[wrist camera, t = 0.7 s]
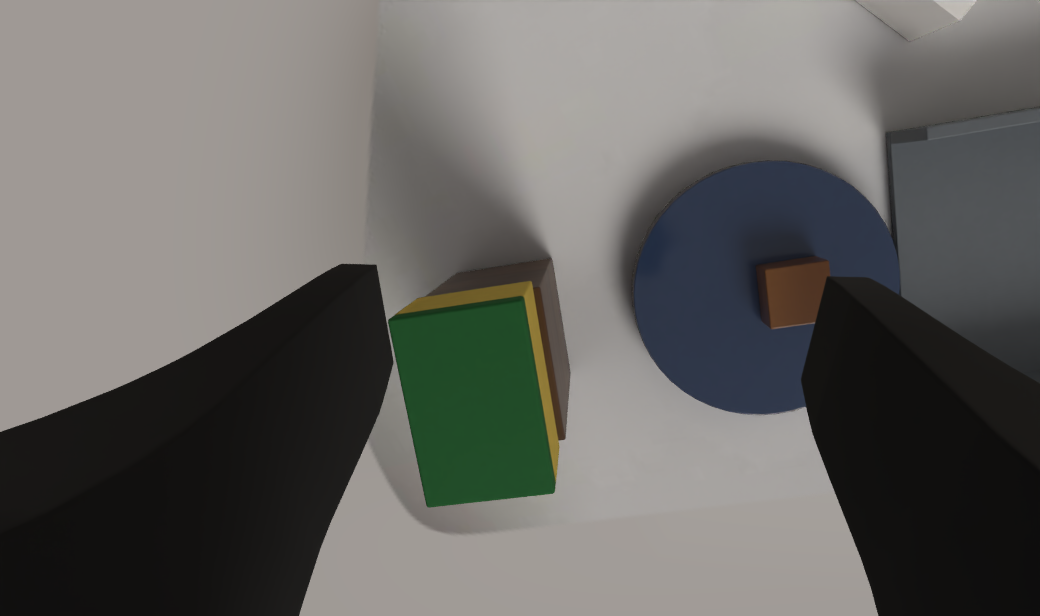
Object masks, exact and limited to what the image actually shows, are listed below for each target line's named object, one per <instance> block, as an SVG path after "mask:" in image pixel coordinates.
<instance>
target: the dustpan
mask: <svg viewBox="0 0 1040 616" xmlns="http://www.w3.org/2000/svg"><path fill="white" fill-rule="evenodd" d="M886 138H887V153H888V168H889V182H890V197H891V212H892V227H893V241H894V246H895V249H896V253H897V256H898V264H899V271H900V292H899V295H900V296H901V297H903V298H905V299H906V300H908V301H909V302H911V303H912V304H914V305H915V306H917V307H918V308H920V309H921V310H923V311H924V312H926V313H928V314H929V315H931V316H932V317H934V318H935V319H937V320H938V321H940V322H941V323H943V324H944V325H946V326H947V327H949V328H950V329H952V330H953V331H955V332H957V333H958V334H960V335H961V336H963V337H964V338H966V339H967V340H969V341H970V342H972V343H974V344H975V345H977V346H978V347H980V348H982V349H983V350H985V351H986V352H988V353H990V354H991V355H993V356H994V357H996V358H998V359H999V360H1001V361H1003V362H1004V363H1006V364H1007V365H1009V366H1011V367H1012V368H1014V369H1016V370H1018V371H1019V372H1021V373H1023V374H1025V375H1026V376H1028V377H1030V378H1032V379H1033V380H1035V381H1037V382H1038V383H1040V107H1034V108H1028V109H1022V110H1017V111H1011V112H1005V113H999V114H993V115H987V116H981V117H975V118H970V119H964V120H958V121H952V122H946V123H940V124H934V125H929V126H923V127H917V128H911V129H905V130H899V131H893V132H887V133H886Z"/></svg>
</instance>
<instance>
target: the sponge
mask: <svg viewBox="0 0 1040 616" xmlns="http://www.w3.org/2000/svg"><path fill="white" fill-rule="evenodd" d="M388 324H389V328H390V333H391V338H392V343H393V347H394V352H395V357H396V362H397V367H398V371H399V376H400V381H401V386H402V391H403V395H404V400H405V405H406V410H407V415H408V419H409V424H410V429H411V434H412V438H413V443H414V448H415V453H416V458H417V462H418V467H419V472H420V477H421V482H422V486H423V491H424V496H425V501H426V505H427V507H437V506H446V505H455V504H464V503H473V502H482V501H491V500H500V499H509V498H518V497H527V496H536V495H545V494H553V493H554V492H555V484H556V476H557V466H558V455H559V442H558V436H557V430H556V424H555V418H554V412H553V406H552V400H551V394H550V388H549V382H548V376H547V370H546V364H545V358H544V352H543V346H542V340H541V334H540V328H539V322H538V316H537V310H536V304H535V298H534V292H533V286H532V282H531V281H526V282H519V283H513V284H506V285H500V286H493V287H487V288H480V289H474V290H467V291H461V292H454V293H448V294H441V295H435V296H428V297H422V298H417V299H416V300H415V301H413V302H412V303H410V304H409V305H408V306H406V307H405V308H403V309H402V310H401V311H399V312H398V313H397V314H395V315H394V316H393V317H392V318H390V319H389V320H388Z"/></svg>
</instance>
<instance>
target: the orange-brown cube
mask: <svg viewBox="0 0 1040 616" xmlns="http://www.w3.org/2000/svg"><path fill="white" fill-rule="evenodd" d="M756 273H757V283H758V292H759V302H760V311H761V321H762V322H763V323H764V324H765V325H767V326H768V327H769V328H770V329H778V328H785V327H792V326H800V325H807V324H814V323H815V321H816V317H817V313H818V310H819V306H820V302H821V298H822V294H823V290H824V286H825V282H826V278H827V276H830V266H829V260H826V259H823V258H820V257H817V256H813V257H806V258H799V259H793V260H786V261H779V262H773V263H766V264H759V265H756Z"/></svg>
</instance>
